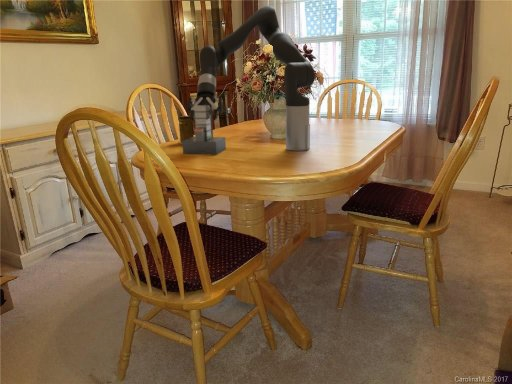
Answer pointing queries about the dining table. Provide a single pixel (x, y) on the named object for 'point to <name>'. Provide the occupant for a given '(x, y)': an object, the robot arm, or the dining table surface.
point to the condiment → (185, 128)
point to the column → (203, 119)
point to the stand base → (203, 144)
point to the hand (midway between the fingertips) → (203, 119)
